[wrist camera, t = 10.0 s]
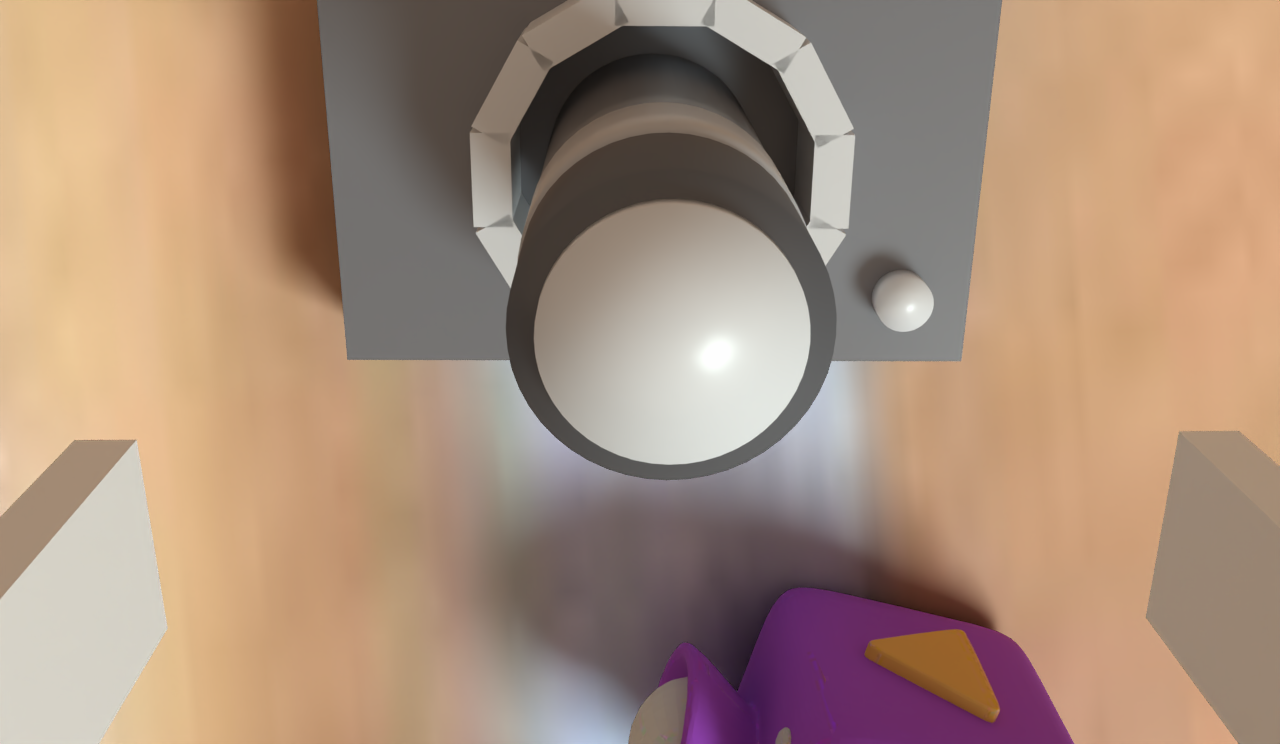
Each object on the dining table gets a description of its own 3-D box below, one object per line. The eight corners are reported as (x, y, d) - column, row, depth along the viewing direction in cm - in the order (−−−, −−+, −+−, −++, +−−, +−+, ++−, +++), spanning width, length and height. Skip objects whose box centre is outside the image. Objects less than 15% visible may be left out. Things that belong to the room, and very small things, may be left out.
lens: (548, 255, 35) (504, 491, 21) (547, 49, 33) (496, 167, 19) (749, 258, 35) (830, 494, 22) (760, 53, 33) (858, 173, 19)
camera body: (367, 325, 39) (324, 399, 33) (335, -82, 34) (280, -75, 29) (936, 327, 39) (989, 401, 33) (978, -76, 34) (1048, -68, 29)
